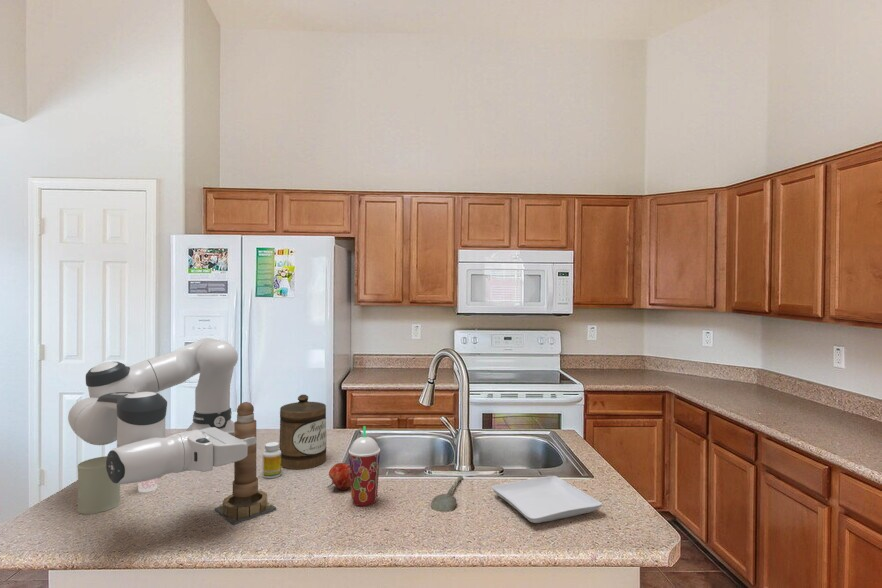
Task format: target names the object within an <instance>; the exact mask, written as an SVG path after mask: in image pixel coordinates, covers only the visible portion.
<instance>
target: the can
mask: <svg viewBox="0 0 882 588" xmlns="http://www.w3.org/2000/svg"><path fill="white" fill-rule="evenodd" d="M106 459H107V455H106V456H99V457H94V458H89V459H86V460H84V461H82V462H79V463H78V464H77V466H76V467H77V490H78V491H77V513H79V514H82V515H92V514H93V515H94V514H99V513H103V512H107V511H109V510H112V509H114V508H117V507H118V506H119V505H120V504H121V502H122V500H121V484H115V483H113V482H112V481H111V480H110V478H109V476H108V473H107V470H106Z"/></svg>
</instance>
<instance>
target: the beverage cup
mask: <svg viewBox="0 0 882 588" xmlns="http://www.w3.org/2000/svg"><path fill="white" fill-rule="evenodd" d="M158 481H159V478H156V479H152V480H147V481H142V482H137V490H138V492H139V493H150V492H152V491H156V490H157V489H158V483H159V482H158Z"/></svg>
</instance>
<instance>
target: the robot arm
mask: <svg viewBox="0 0 882 588" xmlns="http://www.w3.org/2000/svg"><path fill="white" fill-rule="evenodd" d="M237 351H238V350H237V349H236V348H235V347H234V346H233V345H232V344H231V343H229V342H227V341H225V340H221V339H214V338H202V339H199V340H197V341H194V342H191V343H189V344H186V345H185V346H182V347H179V348H178V349H175V350H173V351H169V352H167V353H164V354H161V355H158V356H155V357H151V358H148V359H146V360H141V361H140V362H137V363H134V364H132V365H130V366H126V364H124V363H122V362H121V361H107V362H102V363H99V364H97V365H95V366H93V367H91V368H90V369H89V370H88V371H87V372H86V374H85V386H86V387H87V390H88V395H89V397H86V398H83V399H81V400H78V401H77V402H76V403H75V404H73V406H71V408H70V410H69V411H68V417H67V420H68V425H69V426H70V429H71V430H72V431H73V432H74V434H75V435H76V436H77V437H79V438H80V439H81V440H82V441H83V442H86V443H88V444H89V445H94V446H105V445H109V444H112V443H114V442H116V448H115V447H114V448H113V449H111V450H110V451H109V452H108V453H107V455H106V456H107V459H106V470H107V473H108V476H109V478H110V480H111V481H112V482H113V483H115V484H120V485H129V484H135V483H137V484H138V482H142V481H147V480H152V479H156V478H158V479H160V478H162V477H164V476H165V475H168V474H179V473H184V472H190V471H196V472H203V473H207V472H211V471H213V470H214V467H215V468H217V467H222V466H226V465H230V464H234V462H236V461H240V460H242V459H244V458H245V457H247V453H248V446H249V445H253V444H256V445H257V436H256V437H254V436H250V437H247V438H246V439H238V438H236V437H234V423H235V422H234V421H232V408H231V384H232V383H231V382H232V378H233V373H234V369H235V366H236V365H237V362H238V360H239V359H238V358H239V353H238V352H237ZM198 374H199V376H198V381H197V384H196V387H195V390H194V391H195V392H194V395H195V397H194V398H195V399H194V400H195V402H194V404H195V405H194V408H195V409H194V411H193V414H192V423H191V424H190V425H189V427H187V429H185V430H186V431H181V432H177V433H172V434H171V435H169V436H168V435H167V436H166V416H167V410H168V409H167V408H168V401H167V399H165V398H164V396H162V395H161V394H160V393H159V392H162V391H164V390H167V389H169V388H174V387H175V386H178V385H181V384H183V383H185V382H186V381H188V380H190V379H191V378H192V377H194V376H196V375H198Z"/></svg>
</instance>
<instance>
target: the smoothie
mask: <svg viewBox="0 0 882 588" xmlns="http://www.w3.org/2000/svg"><path fill="white" fill-rule="evenodd" d="M362 427H363V428H362V431H363V433H362V436H360V437H359V436H358V438H356V439H355V440H354V441H352V444H351V446H350V448H349V450H348V461H349V462H348V463H349V464H348V465H349V466H350V482H351V486H350V495H351V496H350V497H351V500H352V502H353V504H354V505H356V506H360V507H366V506H370V505H372V504H374V503H375V502H376V499H377V498H378V490H379V475H380V474H379V473H380V472H379V471H380V455H381V448H380V447H379V445H378V443H377V441H376V440H375V439H374V438H373V437H371V436H366V435H367V434H366V433H367V432H366V430H367V429H366V426H365V425H363V426H362Z"/></svg>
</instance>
